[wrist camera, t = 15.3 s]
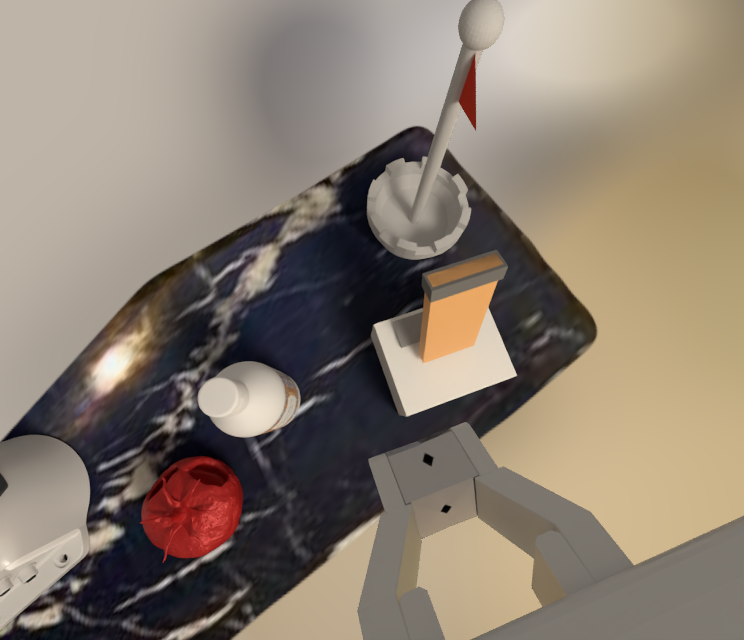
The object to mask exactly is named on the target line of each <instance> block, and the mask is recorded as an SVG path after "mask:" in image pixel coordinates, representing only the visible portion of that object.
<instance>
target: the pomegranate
mask: <svg viewBox="0 0 744 640" xmlns="http://www.w3.org/2000/svg"><path fill="white" fill-rule="evenodd" d="M242 504H243V491H242V487H241V484H240V482H239V479H238V478H237V476H236V474H235V473H234V471H233V470H232V469H231V468H230V467H229V466H228V465H227V464H225V463H224V462H222V461H221V460H218V459H214V458H211V457H206V456H196V457H189V458H185V459H182V460H180V461H177V462H176V463H174V464H172V465H171V466H170V467H169V469H167V470H165V472H163V474H161V477H160V478H159V479H158V480H157V481H156V482H155V483H154V485H153V487H152V488H151V490H150V491H149V492H148V494H147V496H146V498H145V500H144V502H143V507H142V513H141V515H142V522H140V523H143V528H144V530H145V532H146V534H147V536H148V537H149V539H150V541H151V542H152V543H153V544H154V545H155V546H157V547H159V548H162V549H163V550H165V556H164V560H165V559H166V557H167V553H168V554H170V555H172V556H175V557H179V558H195V557H201V556H204V555H206V554H208V553H209V552H211V551H213V550H214V549H216V548H218V547H219V546H220V545H221V544H223V543H224V542H225V541H226V540H227V539H229V538H230V537H231V535H232V534H233V533H234V531H235V530H236V528H237V526H238V524H239V518H240V515H241V511H242ZM164 560H163V562H164Z"/></svg>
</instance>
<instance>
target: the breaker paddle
mask: <svg viewBox="0 0 744 640" xmlns="http://www.w3.org/2000/svg"><path fill="white" fill-rule="evenodd" d="M507 268H508V265H507V264H506V262H505V261H504V260H503V258H502V257H501V255H500V254H499V252H498V251H497V250H494V251H491V252H488V253H485V254H482V255H479V256H475V257H472V258H469V259H466V260H463V261H460V262H457V263H454V264H451V265H448V266H445V267H442V268H438V269H435V270H432V271H429V272H426V273H423V274H422V285H421V286H422V288H423V290H424V291H425V295H424V305H423V315H422V326H421V336H420V346H419V356H420V358H421V360H422V362H423V363H426V362H429V361H431V360H434V359H437V358H440V357H443V356H446V355H448V354H451V353H454V352H457V351H460V350H463V349H465V348H468V347H471V346H474V344H475V341H476V339H477V336H478V333H479V331H480V328H481V325H482V322H483V320H484V317H485V314H486V311H487V309H488V306H489V303H490V300H491V298H492V295H493V292H494V289H495V287H496V284H497V281H498V280H500V279H503V278H504V275H505V273H506V270H507Z"/></svg>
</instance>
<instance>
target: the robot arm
mask: <svg viewBox="0 0 744 640" xmlns="http://www.w3.org/2000/svg"><path fill="white" fill-rule="evenodd" d="M369 464H370V467H371V470H372V473H373V476H374V479H375V482H376V485H377V488H378V491H379V494H380V497H381V500H382V503H383V507H384V510H385V514H383V515H381V516H380V520H379V524H378V528H377V533H376V537H375V541H374V545H373V549H372V553H371V557H370V561H369V565H368V570H367V574H366V578H365V582H364V586H363V590H362V595H361V598H360V603H359V607H358V616H359V621H360V625H361V630H362V635H363V640H445V638H444V635H443V632H442V630H441V627H440V624H439V622H438V619H437V616H436V614H435V611H434V609H433V605H432V603H431V600H430V597H429V595H428V592H427V590H425V589H423V588H420V587H417V588H416V585H417V577H418V569H419V560H420V551H421V543H422V541H421V539H423V538H425V537H427V536H429V535H432V534H434V533H436V532H438V531H440V530H443V529H445V528H447V527H449V526H452V525H455V524H457V523H460V522H463V521H465V520H468V519H471V518H473V517H476V516H478V518H480V519H481V520H482V521H484V522H485V523H486V524H488V525H489V526H491V527H492V528H493V529H494V530H496V531H497V532H499V533H500V534H501V535H503V536H504V537H505V538H507V539H508V540H509V541H511V542H512V543H514V544H515V545H516V546H518V547H519V548H520V549H522V550H523V551H524V552H526V553H527V554H529V555H530V556H531V557H533V558H534V566H533V577H532V589H533V591H534V593H535V594H536V596H537V598H538V600H539V602H540V603H541V605H542V608H540V609H537V610H535V611H533V612H531V613H529V614H526V615H524V616H522V617H520V618H517V619H515V620H513V621H511V622H509V623H506V624H504V625H502V626H500V627H498V628H496V629H493V630H491V631H489V632H487V633H484V634H482V635H480V636H478V637H476V638H473V639H471V640H744V516H742V517H740V518H738V519H735V520H733V521H731V522H729V523H727V524H724V525H722V526H720V527H718V528H716V529H714V530H711V531H709V532H707V533H705V534H703V535H700V536H698V537H696V538H694V539H692V540H689V541H687V542H685V543H683V544H680V545H678V546H676V547H674V548H672V549H669V550H667V551H665V552H663V553H661V554H659V555H657V556H654V557H652V558H650V559H648V560H645V561H643V562H641V563H639V564H636V565H633V564H632V563H631V561H630V560H629V559H628V557H627V556H626V555H625V554H624V552H623V551H622V550H621V549H620V548H619V546H618V545H617V544H616V543H615V541H614V540H613V539H612V538H611V536H610V535H609V534H608V533H607V531H606V530H605V529H604V528H603V526H602V525H601V524H600V523H599V522H598V520H597V519H596V518H595V517H594V515H593V514H592V513H591V512H590V511H588V510H586V509H584V508H582V507H580V506H578V505H576V504H574V503H572V502H571V501H569V500H567V499H565V498H563V497H561V496H559V495H557V494H555V493H553V492H552V491H550V490H548V489H546V488H544V487H542V486H540V485H538V484H536V483H534V482H532V481H530V480H528V479H527V478H524V477H523V476H521V475H519V474H517V473H515V472H513V471H511V470H509V469H507V468H505V467H500V468H498V467H497V465H496V464H495V463H494V461H493V459H492V458H491V456H490V455H489V453H488V452H487V450H486V449H485V447H484V446H483V445H482V443H481V441H480V440H479V438H478V437H477V435H476V434H475V432H474V431H473V429H472V428H471V426H470V425H469V424H468V423H466V422H465V423H462V424H460V425H457V426H455V427H452V428H450V429H449V428H448V429H445V430H443V431H440V432H438V433H435V434H433V435H430V436H428V437H425V438H423V439H420V440H418V441H417V442H414V443H411V444H409V445H406V446H403V447H400V448H397V449H395V450H392V451H389V452H386V454H385V453H383V454H380V455H378V456H375V457H372V458H370V459H369ZM89 500H90V483H89V477H88V474H87V471H86V468H85V466H84V464H83V462H82V460H81V458H80V457H79V456H78V454H77V453H76V452H75V451H74V450H73V449H72V448H71V447H70V446H68V445H67V444H65V443H64V442H62V441H60V440H58V439H55V438H52V437H49V436H44V435H26V436H20V437H16V438H13V439H10V440H7V441H3V442H0V630H1V629H3V628H4V627H5V626H6V625H7V624H8V623H9V622H11V621H12V620H13V619H14V618H15V617H16V616H17V615H19V614H20V613H21V612H22V611H23V610H24V609H25V608H27V607H28V606H29V605H30V604H31V603H32V602H34V601H35V600H36V599H37V598H38V597H39V596H40V595H42V594H43V593H44V592H45V591H46V590H47V589H48V588H50V587H51V586H52V585H53V584H54V583H55V582H56V581H58V580H59V579H60V578H61V577H62V576H63V575H65V574H66V573H67V572H68V571H69V570H70V569H71V568H73V567H74V566H75V565H76V564H77V563H78V562H79V561H81V560H82V559H83V558H84V557H85V556H86V555H87V553H88V551H89V545H90V544H89V535H88V530H87V526H86V517H87V511H88V506H89ZM65 554H66V555H67V556H68V559H67V560H65V558H64V555H65Z"/></svg>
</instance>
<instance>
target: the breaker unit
mask: <svg viewBox="0 0 744 640" xmlns="http://www.w3.org/2000/svg"><path fill="white" fill-rule="evenodd" d="M422 315H423V308H421V309H418V310H415V311H412V312H409V313H406V314H403V315H400V316H397V317H394V318H391V319H389V320H386V321H383V322H380V323H377V324H374V325H373V329H372V332H371V338H372V341H373V344H374V346H375V349H376V352H377V355H378V358H379V360H380V363H381V366H382V369H383V372H384V375H385V377H386V380H387V383H388V386H389V389H390V391H391V394H392V397H393V400H394V403H395V406H396V408H397V411H398V414H399V415H402V416H409V415H412V414H415V413H418V412H420V411H423V410H426V409H428V408H431V407H434V406H436V405H439V404H442V403H445V402H447V401H450V400H453V399H455V398H458V397H461V396H464V395H466V394H469V393H472V392H474V391H477V390H480V389H482V388H485V387H488V386H491V385H493V384H496V383H499V382H501V381H504V380H507V379H510V378H512V377H515V376H517V375H516V372H515V370H514V367H513V365H512V363H511V360H510V358H509V356H508V353H507V351H506V349H505V346H504V344H503V341H502V339H501V337H500V334H499V332H498V330H497V327H496V325H495V322H494V320H493V318H492V315H491V313H490V311H489V308H488V309H487V311H486V314H485V317H484V320H483V322H482V325H481V328H480V331H479V333H478V336H477V339H476V341H475V344H474V346H471V347H468V348H465V349H463V350H460V351H457V352H454V353H451V354H448V355H446V356H443V357H440V358H437V359H434V360H431V361H429V362H426V363H423V362H422V360H421V358H420V356H419V346H420V336H421V326H422Z"/></svg>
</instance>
